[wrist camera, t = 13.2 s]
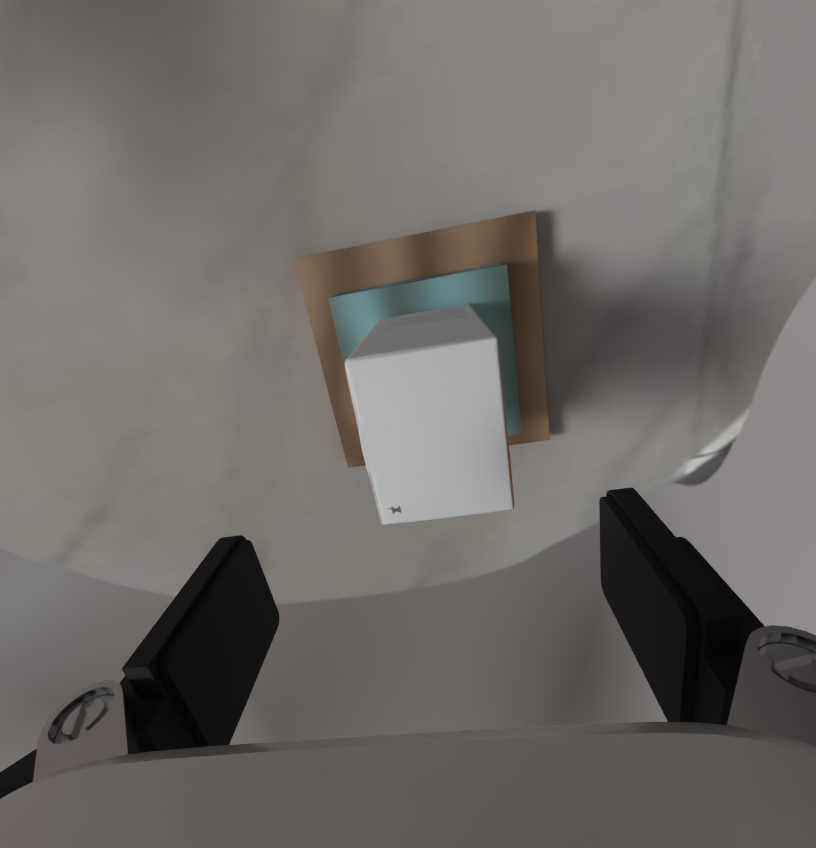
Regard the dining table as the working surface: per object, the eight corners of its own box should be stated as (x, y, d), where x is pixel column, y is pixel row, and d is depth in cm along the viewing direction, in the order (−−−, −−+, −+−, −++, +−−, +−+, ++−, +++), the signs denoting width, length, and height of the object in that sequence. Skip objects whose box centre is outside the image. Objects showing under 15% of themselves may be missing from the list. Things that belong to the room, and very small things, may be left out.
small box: (483, 412, 31) (516, 514, 19) (399, 425, 32) (378, 530, 20) (471, 300, 28) (500, 334, 16) (378, 316, 29) (338, 361, 17)
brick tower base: (530, 212, 31) (551, 203, 26) (545, 432, 38) (564, 463, 32) (299, 258, 33) (273, 259, 28) (351, 460, 40) (337, 493, 34)
